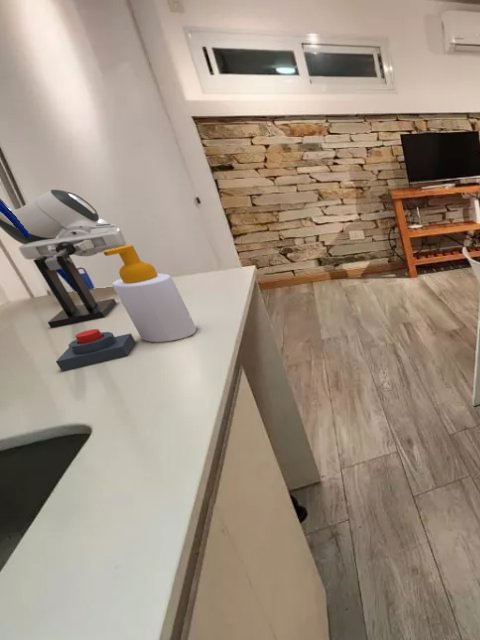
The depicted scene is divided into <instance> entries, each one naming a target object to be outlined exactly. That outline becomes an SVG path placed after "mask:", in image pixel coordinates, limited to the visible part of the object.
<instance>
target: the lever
mask: <svg viewBox="0 0 480 640" xmlns="http://www.w3.org/2000/svg"><path fill="white" fill-rule="evenodd" d="M73 245H74V244H73V243H70V242H60V243H59V244H57V246H56V249H57V251H58V254H57V255H56V256H50V257H47V259H46V260H45V264H46V265H47V266H48V268H49V269H50V271H51V270H55V271H57V270H63V268H62V266H61V265H60V263H59V261H58V259H57V258H56V257H57V256H58V255H60V254H62V253H66V252H68V254H69V256H74V254H75V253H76V250H75V248H74V246H73Z"/></svg>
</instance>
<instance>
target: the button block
mask: <svg viewBox="0 0 480 640" xmlns="http://www.w3.org/2000/svg"><path fill="white" fill-rule="evenodd" d="M100 333H101V334H102V336H103V337H102V338H100V339H98V340H95V341H92V342H88V343H83V344H79V342H78V340H77V339H74V340H72V341H70V343H68V345H67V346H68V347H67V349H66V350H65V351H64V352H63V353H62V354H61V355H60V356H59V358H57V360H56V361H55V363H56V364H57V366H58V368H59V369H60V371H61V372H64V371H69V370H73V369H77V368H81V367H86V366H90V365H94V364H99V363H103V362H107V361H111V360H116V359H120V358H123V357H127V356H128V355H129V354H130V352H131V351H132V349H133V347H134V346H135V344H136V340H135V338H134V336H133V334H132V333H125V334H122V335H117V336H115V335H114V334H113V332H110V331H102V332H101V331H100Z"/></svg>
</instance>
